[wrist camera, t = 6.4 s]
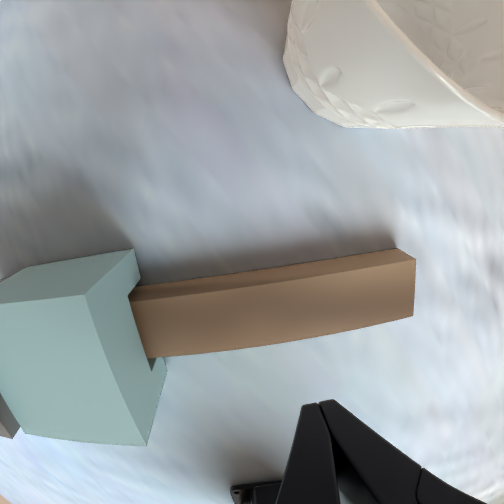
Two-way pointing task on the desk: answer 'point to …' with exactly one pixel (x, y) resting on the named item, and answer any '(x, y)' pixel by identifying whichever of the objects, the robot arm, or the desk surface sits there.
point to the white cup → (398, 62)
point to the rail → (267, 307)
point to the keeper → (77, 352)
